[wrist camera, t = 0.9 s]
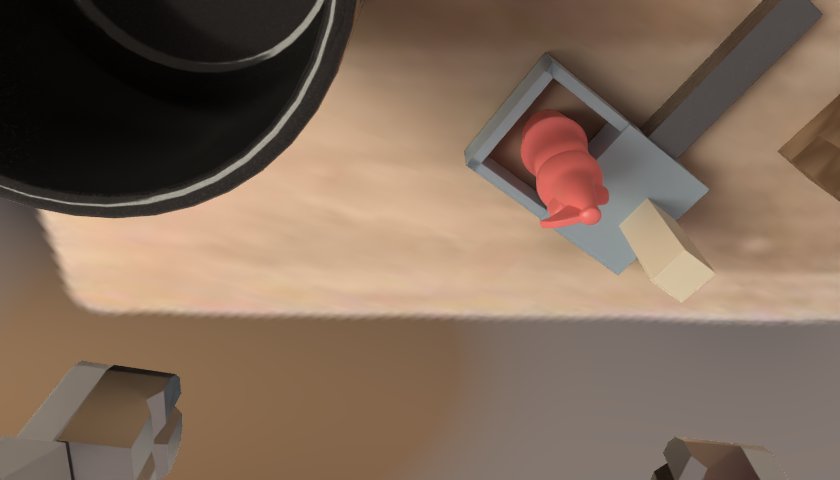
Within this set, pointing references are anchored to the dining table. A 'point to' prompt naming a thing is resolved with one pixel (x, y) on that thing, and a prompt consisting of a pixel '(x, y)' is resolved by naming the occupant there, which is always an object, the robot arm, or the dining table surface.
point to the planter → (157, 96)
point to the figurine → (563, 169)
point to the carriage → (611, 189)
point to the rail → (729, 72)
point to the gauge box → (818, 149)
